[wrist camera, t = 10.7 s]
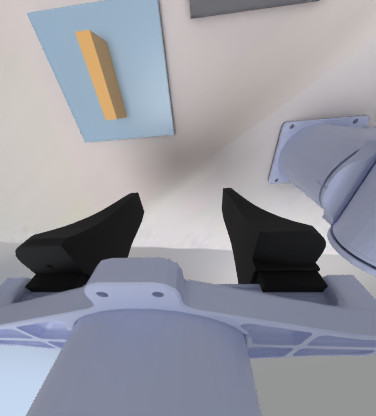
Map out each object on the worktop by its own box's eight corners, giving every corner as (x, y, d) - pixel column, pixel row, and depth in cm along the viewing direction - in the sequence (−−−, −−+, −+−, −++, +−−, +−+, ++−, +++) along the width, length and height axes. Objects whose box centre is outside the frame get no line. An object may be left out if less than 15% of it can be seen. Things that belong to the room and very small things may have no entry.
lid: (159, 2, 13) (147, -34, 10) (175, 132, 19) (171, 139, 16) (41, 20, 14) (-10, -7, 11) (91, 140, 20) (70, 147, 17)
